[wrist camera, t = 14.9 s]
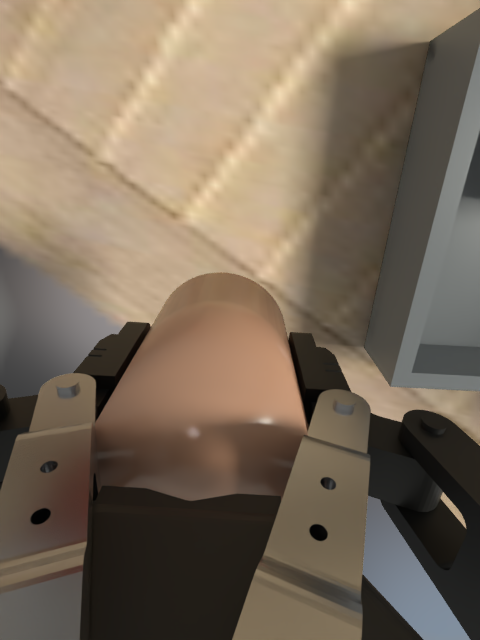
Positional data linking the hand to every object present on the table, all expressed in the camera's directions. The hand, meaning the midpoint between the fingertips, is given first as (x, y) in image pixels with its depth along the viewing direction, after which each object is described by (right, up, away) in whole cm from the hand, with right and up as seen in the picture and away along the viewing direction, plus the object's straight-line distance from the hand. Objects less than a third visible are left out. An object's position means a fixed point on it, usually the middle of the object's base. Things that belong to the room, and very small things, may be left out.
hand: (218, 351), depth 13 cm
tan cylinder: (0, +1, +1) cm, 1 cm away
